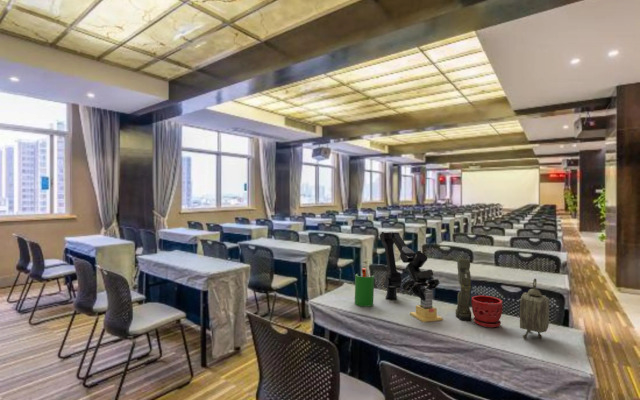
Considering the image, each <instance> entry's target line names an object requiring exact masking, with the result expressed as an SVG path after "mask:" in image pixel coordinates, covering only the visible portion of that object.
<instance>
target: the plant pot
mask: <svg viewBox="0 0 640 400" xmlns="http://www.w3.org/2000/svg"><path fill="white" fill-rule="evenodd" d="M470 305H471V312H472V314H473V321H474V323H475V324H477V325H478V326H481V327H485V328H492V329H493V328H497V327H499V326H500V325H501V324H502V321H501V320H500V319H501V318H502V316H503V315H502V314H503V301H502V299H500V298H498V297H495V296H489V295H475V296H472V297H470Z"/></svg>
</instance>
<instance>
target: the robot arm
mask: <svg viewBox="0 0 640 400" xmlns="http://www.w3.org/2000/svg"><path fill="white" fill-rule="evenodd" d="M379 239H380V243H381V245H382V246H383V247H384V250H385V253H384V254H385V259H386V268H387V272H386V275H385V280H384V281H383V288H385V289H386V295H385V299H386V300H395V301H397V300H398V296H397V295H398V294H397V292H398V291H397V289H401V285H402V275H401V272H400V271H398V270H397V266H396V260H395V259H396V258H395V251H394V245H395V247H396V248H397V250H398V252H399V258H400V259H401V261H402V263H404V264H407V263H408V264H407V265H406V267H405V271H408V273H409V275H410V277H409V278H410V280H406V281H405V282H404V283H403V285H402V289H403V292H411V293H413V294H415V295H416V296H417V297H418V298H420V300H421V299H422V300H423V301H425V298H424V295H423V293H422V291H421V289H422V288H421V287H424V289H430V290H432V291H433V290H435V289H436V288H438V286H439V285H440V284H441V282H440V281H439V279H437V278H432V277H433V276H434V271H433V270H432V269H427V270H423V271H422V270H421V268H422V267H423V266H424V265H425V264H426V262H427V261H428V256H427V255H426V254H425V253H423V252H422V251H421V250H417V251H416V252H415V251H414V250H413V249H411V248H409V247H408V246H407V244H406V243H405V241H404V239H403V238H402V237H401V234H400V232H398V231H382V232H381V233H380V234H379ZM429 278H431V279H430V280H429ZM428 280H429V281H428Z"/></svg>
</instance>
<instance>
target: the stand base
mask: <svg viewBox="0 0 640 400" xmlns="http://www.w3.org/2000/svg"><path fill="white" fill-rule="evenodd" d="M437 312H438V308H436V307H435V306H432V308H430V309H424V308H422V307H420V304H417V305H415V311H412V312H411V311H410V312H409V315H410V316H412V317H413V318H415V319H417V320H419V321H421V322H423V323H429V322H436V321H443V317H442V316H440V315H438V313H437Z"/></svg>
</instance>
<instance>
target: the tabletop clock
mask: <svg viewBox="0 0 640 400" xmlns="http://www.w3.org/2000/svg"><path fill="white" fill-rule="evenodd" d="M519 306H520V307H519V328H520V329H522V330H526V332H525V334H523V335H522V338H523V339H524V340H526V339H527V338H528V334H529V333H530V332H535V333H537V338H538V339H542V338H543V335H542V334H543V333H546V332H547V330H548V328H549V326H550V298H549V297H547V296H545V295H543V294H542V293H541V291H540V290H539V289H537V279H536V278H533V282H532V288H530V289H528V291H527V292H523V293H522V295H521V297H520V303H519ZM541 333H542V334H541Z"/></svg>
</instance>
